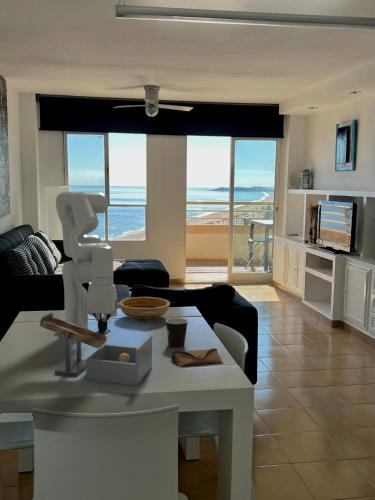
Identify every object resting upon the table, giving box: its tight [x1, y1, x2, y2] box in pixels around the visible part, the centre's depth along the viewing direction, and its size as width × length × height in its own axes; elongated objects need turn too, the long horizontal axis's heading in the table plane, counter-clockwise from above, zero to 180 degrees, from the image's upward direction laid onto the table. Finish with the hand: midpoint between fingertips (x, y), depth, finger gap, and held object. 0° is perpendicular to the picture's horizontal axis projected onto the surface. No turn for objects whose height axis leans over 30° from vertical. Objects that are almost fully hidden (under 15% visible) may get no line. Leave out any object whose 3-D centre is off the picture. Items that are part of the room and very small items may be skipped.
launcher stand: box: [54, 325, 86, 377], centre depth 166 cm, size 8×12×14 cm, turn 167°
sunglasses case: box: [171, 348, 224, 368], centre depth 177 cm, size 18×7×7 cm, turn 108°
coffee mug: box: [165, 317, 188, 349], centre depth 195 cm, size 12×9×10 cm
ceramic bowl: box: [118, 296, 171, 323], centre depth 231 cm, size 30×24×8 cm
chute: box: [39, 312, 111, 349], centre depth 170 cm, size 22×17×3 cm
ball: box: [119, 353, 130, 363], centre depth 162 cm, size 4×4×4 cm
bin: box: [85, 334, 153, 387], centre depth 163 cm, size 18×16×12 cm
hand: (102, 331), depth 173 cm, fingers closed
